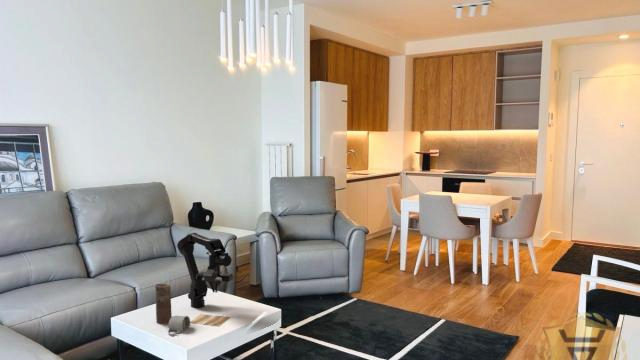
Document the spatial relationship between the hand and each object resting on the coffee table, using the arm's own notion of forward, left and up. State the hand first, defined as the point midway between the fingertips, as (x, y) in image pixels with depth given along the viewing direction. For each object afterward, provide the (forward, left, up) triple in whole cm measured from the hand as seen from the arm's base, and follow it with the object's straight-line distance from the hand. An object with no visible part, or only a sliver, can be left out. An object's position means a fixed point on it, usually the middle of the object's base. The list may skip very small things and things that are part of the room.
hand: (215, 292), depth 250 cm
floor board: (+6, -10, -12) cm, 17 cm away
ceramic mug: (-6, -26, -12) cm, 29 cm away
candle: (-19, -18, -12) cm, 29 cm away
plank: (-2, -10, -12) cm, 16 cm away
